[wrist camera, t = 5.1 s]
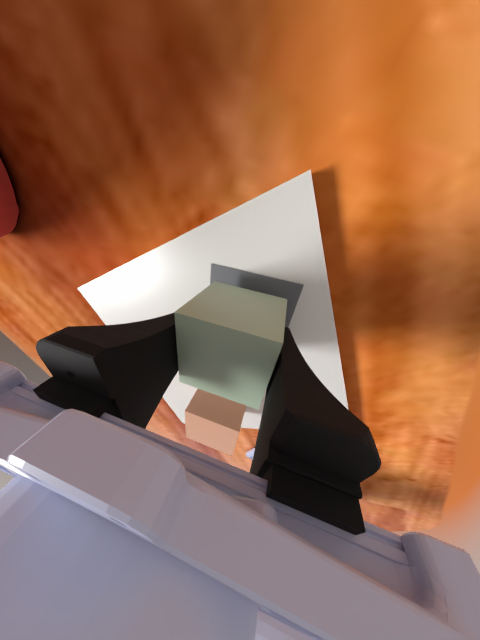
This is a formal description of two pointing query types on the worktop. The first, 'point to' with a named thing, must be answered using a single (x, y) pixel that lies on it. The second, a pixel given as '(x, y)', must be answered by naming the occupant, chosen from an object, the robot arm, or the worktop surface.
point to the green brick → (230, 341)
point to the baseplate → (237, 279)
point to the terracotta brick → (214, 421)
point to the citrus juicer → (7, 203)
